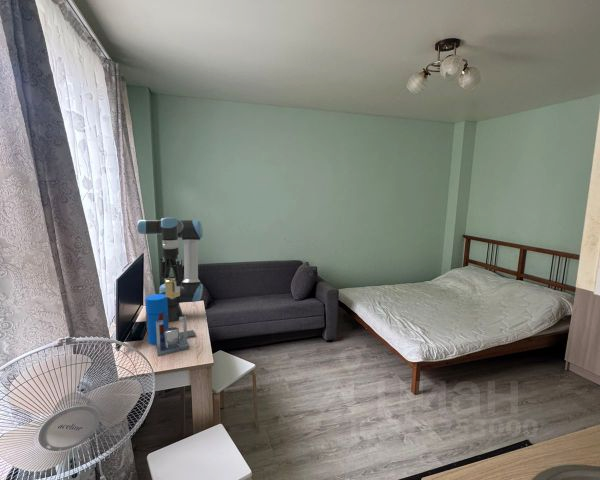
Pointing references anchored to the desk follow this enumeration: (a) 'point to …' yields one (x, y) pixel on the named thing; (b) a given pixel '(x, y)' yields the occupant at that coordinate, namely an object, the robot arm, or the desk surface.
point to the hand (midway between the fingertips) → (172, 290)
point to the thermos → (156, 316)
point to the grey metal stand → (172, 339)
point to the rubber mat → (189, 334)
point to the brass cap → (170, 289)
